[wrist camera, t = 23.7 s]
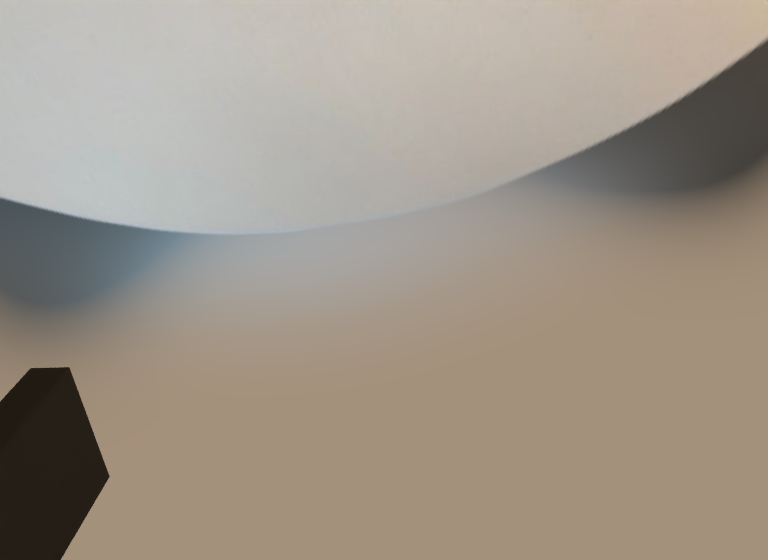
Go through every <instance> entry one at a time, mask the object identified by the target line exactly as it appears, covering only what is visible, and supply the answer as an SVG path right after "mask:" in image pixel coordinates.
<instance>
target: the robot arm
mask: <svg viewBox="0 0 768 560" xmlns="http://www.w3.org/2000/svg"><path fill="white" fill-rule="evenodd" d="M108 478H109V474H108V471H107V468H106V466H105V463H104V461H103V458H102V455H101V452H100V450H99V447H98V444H97V442H96V439H95V436H94V433H93V431H92V428H91V425H90V423H89V420H88V417H87V414H86V411H85V409H84V406H83V403H82V401H81V398H80V395H79V392H78V390H77V387H76V384H75V382H74V379H73V376H72V373H71V371H70V368H69V367H68V368H67V367H64V368H31V369H30V370H29V371H28V372H27V373H26V374H25V375H24V376H23V377H22V378H21V379H20V381H19V382H18V383H17V384H16V385H15V386H14V387H13V388H12V389H11V390H10V392H9V393H8V394H7V395H6V396H5V397H4V398H3V399H2V400H1V402H0V560H61V558H62V556H63V555H64V553H65V551H66V549H67V548H68V546H69V544H70V542H71V541H72V539H73V538H74V536H75V534H76V533H77V531H78V529H79V528H80V526H81V524H82V522H83V521H84V519H85V517H86V516H87V514H88V512H89V511H90V509H91V507H92V506H93V504H94V502H95V500H96V499H97V497H98V495H99V494H100V492H101V490H102V489H103V487H104V485H105V483H106V482H107V480H108Z"/></svg>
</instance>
